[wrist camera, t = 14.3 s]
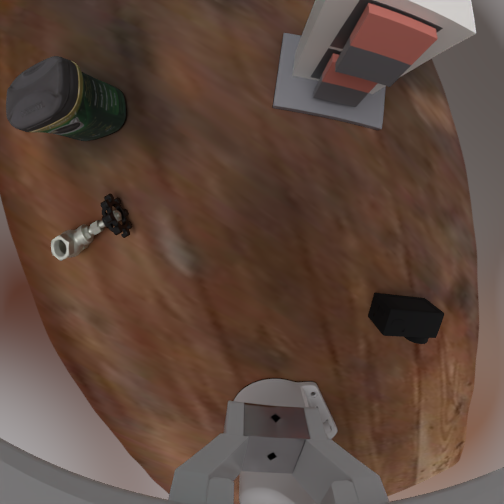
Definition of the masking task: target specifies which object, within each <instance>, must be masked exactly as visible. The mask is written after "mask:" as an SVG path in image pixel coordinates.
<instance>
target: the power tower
mask: <svg viewBox="0 0 504 504" xmlns="http://www.w3.org/2000/svg"><path fill="white" fill-rule="evenodd" d="M368 3H370V4H374V5H377V6H380V7H383V8H385V9H388V10H391V11H394V12H397V13H399V14H402V15H404V16H407V17H409V18H412V19H414V20H417V21H419V22H422V23H424V24H426V25H428V26H431V27H433V28H435V29H436V33H437V38H438V39H437V40H436V41H435V42H434V43H433V44H432V45H431V46H430V47H429V48H428V49H427V50H426V51H425V52H424V53H423V54H422V55H421V56H420V57H419V58H418V59H417V60H416V61H415V62H414V63H413V64H412V65H411V66H410V67H409V68H408V69H407V70H406V71H405V72H404V73H403V74H402V75H401V76H403V75H404V74H406V73H408V72H409V71H411V70H413V69H414V68H416V67H418V66H419V65H421V64H423V63H424V62H426V61H428V60H430V59H431V58H433V57H435V56H436V55H438V54H440V53H441V52H443V51H445V50H447V49H449V48H450V47H452V46H454V45H456V44H458V43H459V42H461V41H463V40H465V39H467V38H469V37H471V36H472V35H474V34H476V29H475V21H474V15H473V9H472V3H471V0H315V2H314V5H313V7H312V10H311V13H310V15H309V18H308V20H307V23H306V25H305V28H304V31H303V33H302V36H299V35H294V34H288V33H284V35H283V40H282V47H281V54H280V60H279V67H278V74H277V81H276V88H275V95H274V101H273V108H276V109H282V110H288V111H294V112H299V113H305V114H310V115H315V116H320V117H325V118H329V119H334V120H338V121H343V122H347V123H351V124H355V125H359V126H363V127H367V128H371V129H375V130H380V129H382V122H383V112H384V100H385V87H386V86H385V85H382V84H379V83H378V84H377V85H376V86H375V87H374V88H373V89H372V90H371V91H370V92H369V93H368V94H367V95H366V96H365V98H364V99H363V100H362V101H361V102H360V103H359V104H358V105H357V106H356V107H353V106H349V105H345V104H340V103H336V102H332V101H327V100H323V99H318V98H313V95H314V89H315V87H316V85H317V83H318V81H319V79H320V77H321V75H322V73H323V71H324V70H325V68H326V66H327V64H328V62H329V60H330V58H331V56H332V54H333V53H334V54H338V55H340V53H341V52H342V50H343V48H344V46H345V44H346V43H347V41H348V39H349V37H350V35H351V33H352V32H353V30H354V28H355V26H356V24H357V22H358V21H359V19H360V17H361V15H362V13H363V12H364V10H365V8H366V6H367V4H368ZM401 76H400V77H401Z"/></svg>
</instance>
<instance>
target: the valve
mask: <svg viewBox="0 0 504 504" xmlns="http://www.w3.org/2000/svg"><path fill="white" fill-rule="evenodd" d="M104 199H105V201H103V202H102V203H101V207H102V208H103V209H102V215H103V217H102V221H100V220H97V221H95V222H94V223H92V224H91V225H90V226H87V225H85V224H83V225H81V226H80V227H78V228H77V229H76V230H67V231H65V232H63V233H62V234H61V235H59V236H57V237H56V238H54V239H53V240H52V241H51V251H52V254H53V255H54V256H55V257H56V258H57V259H59V260H60V261H62V260H64V259H66V258H67V257H75V256H77V255H79V254H80V252H81V251H82V250H83V249H85V248H87V247H88V246H89V243H91V242H92V241H93V236H94V234H95V235H96V234H98V233H100V232H101V231H103V230H104V227H105V226H106V227H107V228H109V230H111V231H112V232H114V234H115V235H118V234H120V233H122V231H123V234H121V235H122V237H123V238H125V237H127V236H129V235H130V231H129V229H131V228H132V224H131V222H130V221H128V220H127V217H126V216H128V215H129V213H128V211H127V209H123V208H122V207H121V205H120V204H121V200H120V199H119V198H116V199H114V197H113V195H112V194H108V195H107V196H105V197H104ZM112 206H114V207H115V208H116V209H117V210H114V211H113V210H112ZM106 210H107V213H106ZM120 220H122V225H121V224H120V223H119V222H118V221H120ZM113 226H115V227H114V228H113Z"/></svg>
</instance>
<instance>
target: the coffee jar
mask: <svg viewBox="0 0 504 504" xmlns="http://www.w3.org/2000/svg"><path fill="white" fill-rule="evenodd" d="M6 112H7V119H8V121H9V122H10V124H11V125H12V126H13V127H15V128H17V129H19V130H22V131H25V132H46V133H53V134H57V135H62V136H66V137H69V138H73V139H77V140H81V141H89V140H94V139H98V138H101V137H104V136H107V135H109V134H111V133H113V132H116V131H117V130H118V129H120V128H121V126H122V125H123V123H124V121H125V117H126V105H125V99H124V96H123V93H122V92H121V91H120V90H119V89H117V88H116V87H114V86H112V85H110V84H107V83H105V82H102V81H100V80H98V79H95V78H93V77H91V76H89V75H87V74H85V73H83V72H81V70H80V68H79V66H78V65H77V64H76V63H74V62H73V61H70V60H67V59H64V58H62V57H58V56H54V57H50V58H48V59H45V60H43V61H41V62H39V63H37V64H35V65H34V66H32V67H30V68H29V69H27V70H25V71H24V72H22V73H21V74H20V75H19V76H18V77H17V78H16V79H15V80H14V81H13V83H12V84H11V86H10V87H9V88H8V90H7V100H6Z"/></svg>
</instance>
